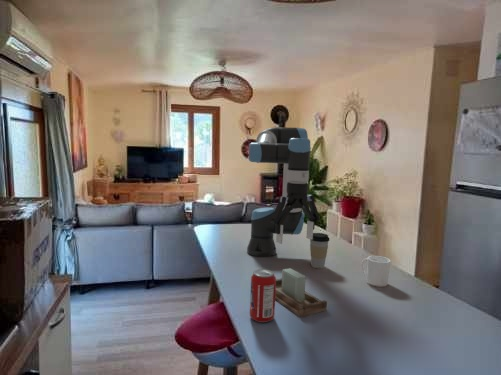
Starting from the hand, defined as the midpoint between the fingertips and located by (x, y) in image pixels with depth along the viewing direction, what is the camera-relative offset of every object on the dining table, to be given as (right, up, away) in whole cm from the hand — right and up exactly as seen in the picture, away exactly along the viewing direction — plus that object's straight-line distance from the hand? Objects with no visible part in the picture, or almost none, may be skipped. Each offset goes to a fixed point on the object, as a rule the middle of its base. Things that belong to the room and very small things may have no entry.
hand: (294, 240), depth 124 cm
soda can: (-12, -23, -15) cm, 30 cm away
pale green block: (-1, -20, -1) cm, 20 cm away
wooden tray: (-1, -21, 0) cm, 21 cm away
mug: (+35, -21, +18) cm, 45 cm away
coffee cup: (+16, -18, +37) cm, 44 cm away
